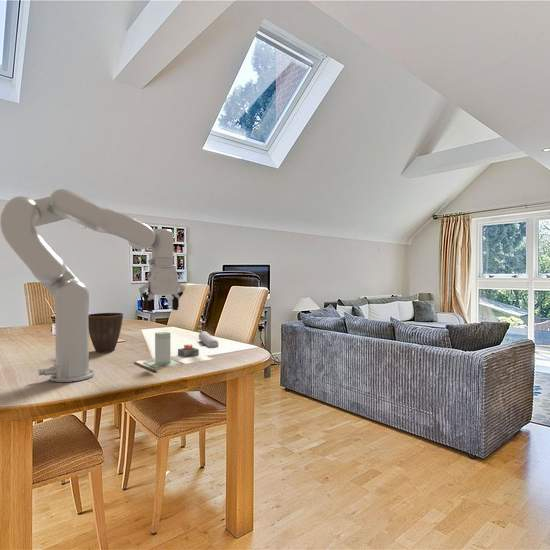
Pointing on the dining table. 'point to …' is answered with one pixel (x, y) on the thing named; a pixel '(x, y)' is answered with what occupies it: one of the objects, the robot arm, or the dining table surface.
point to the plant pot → (104, 330)
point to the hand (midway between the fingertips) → (162, 310)
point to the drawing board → (174, 360)
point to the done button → (187, 347)
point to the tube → (208, 339)
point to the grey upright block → (162, 348)
